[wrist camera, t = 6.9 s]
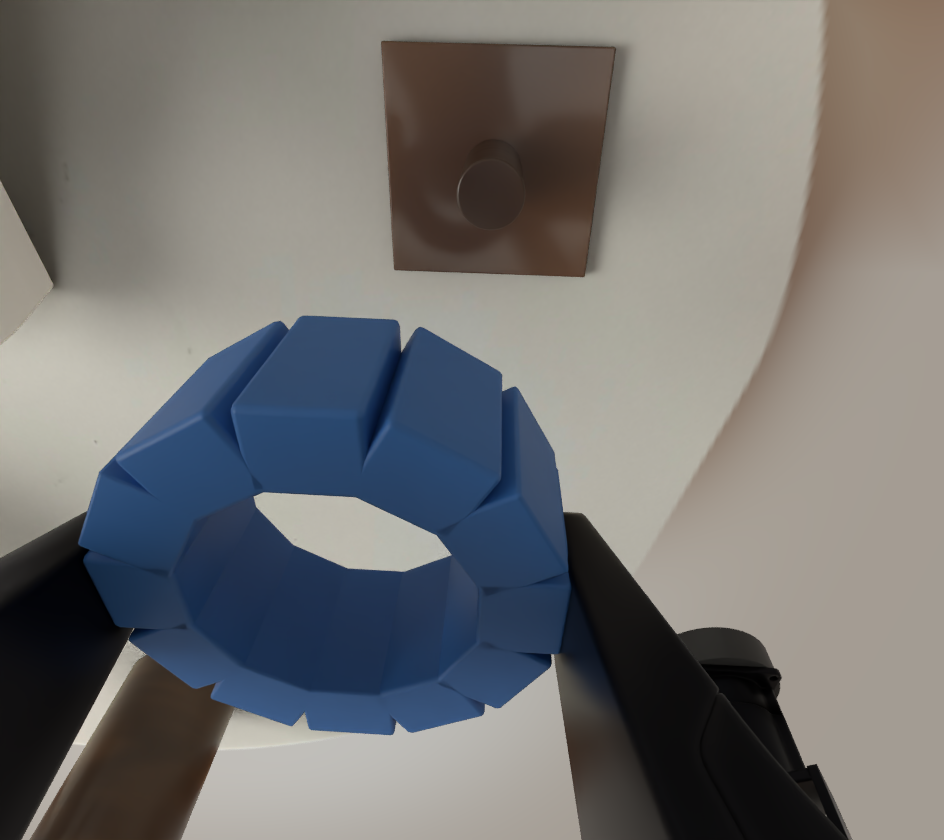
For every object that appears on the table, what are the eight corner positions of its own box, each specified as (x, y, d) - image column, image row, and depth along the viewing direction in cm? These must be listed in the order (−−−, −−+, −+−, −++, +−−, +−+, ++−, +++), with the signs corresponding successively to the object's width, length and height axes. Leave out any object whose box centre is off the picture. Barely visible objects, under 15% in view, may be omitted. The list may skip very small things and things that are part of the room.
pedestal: (226, 654, 33) (118, 893, 24) (249, 714, 37) (162, 941, 28) (118, 648, 34) (-33, 882, 24) (150, 708, 37) (31, 932, 28)
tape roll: (578, 325, 8) (605, 425, 6) (536, 618, 11) (543, 746, 9) (126, 304, 8) (-8, 395, 6) (223, 600, 11) (162, 721, 9)
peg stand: (614, 47, 16) (642, 46, 13) (583, 273, 20) (599, 318, 16) (383, 41, 16) (353, 39, 13) (395, 266, 20) (374, 309, 17)
